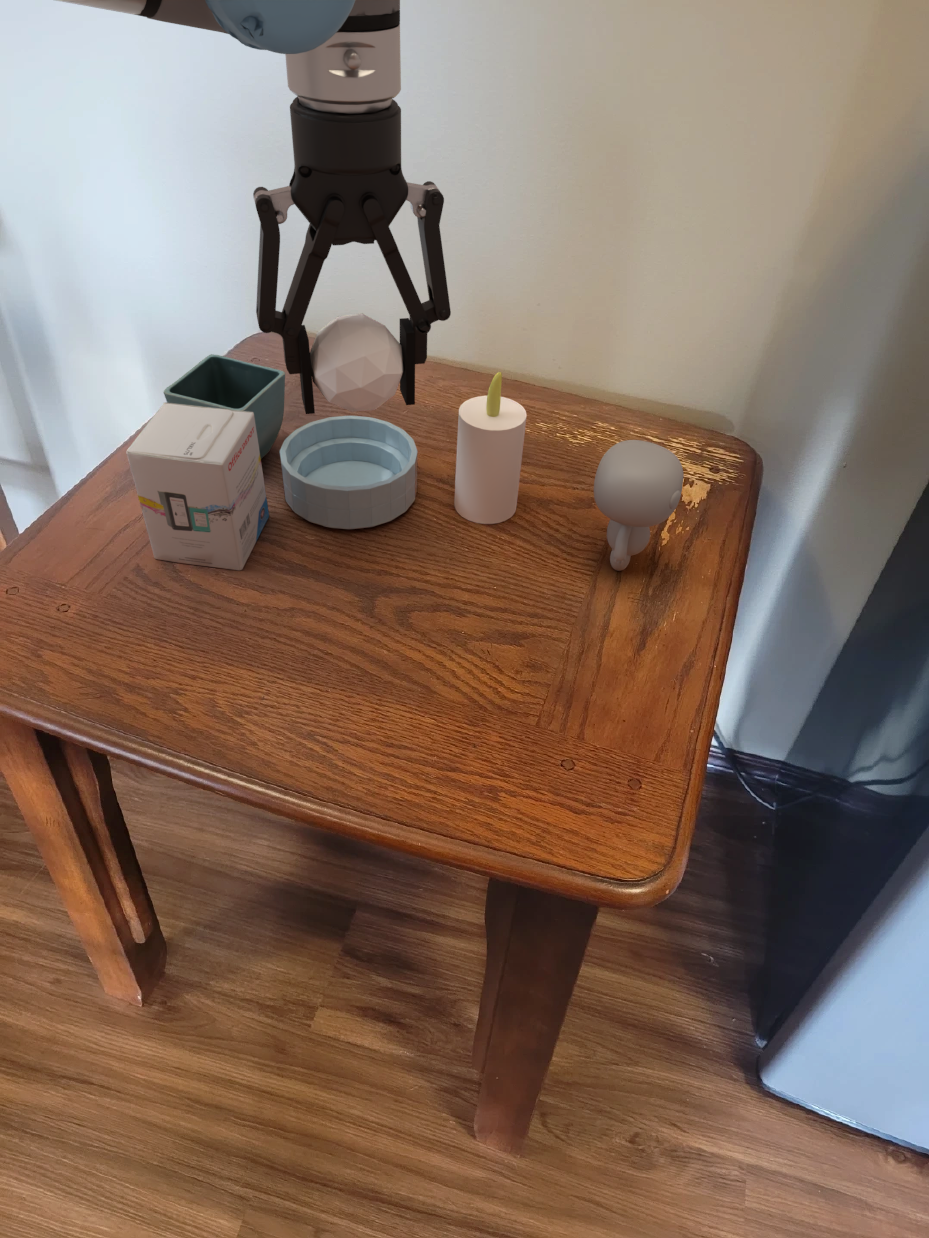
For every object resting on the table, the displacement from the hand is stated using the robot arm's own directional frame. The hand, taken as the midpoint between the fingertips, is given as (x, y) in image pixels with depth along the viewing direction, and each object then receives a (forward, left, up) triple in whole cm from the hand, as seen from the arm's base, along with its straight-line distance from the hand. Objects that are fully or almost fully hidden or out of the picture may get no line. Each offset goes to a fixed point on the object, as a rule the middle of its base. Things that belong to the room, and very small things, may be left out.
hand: (358, 401), depth 73 cm
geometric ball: (0, 0, 0) cm, 0 cm away
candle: (+6, +11, -14) cm, 19 cm away
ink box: (-9, -11, -14) cm, 20 cm away
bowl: (-5, +3, -14) cm, 15 cm away
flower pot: (-18, -1, -14) cm, 22 cm away
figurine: (+21, +13, -14) cm, 28 cm away
